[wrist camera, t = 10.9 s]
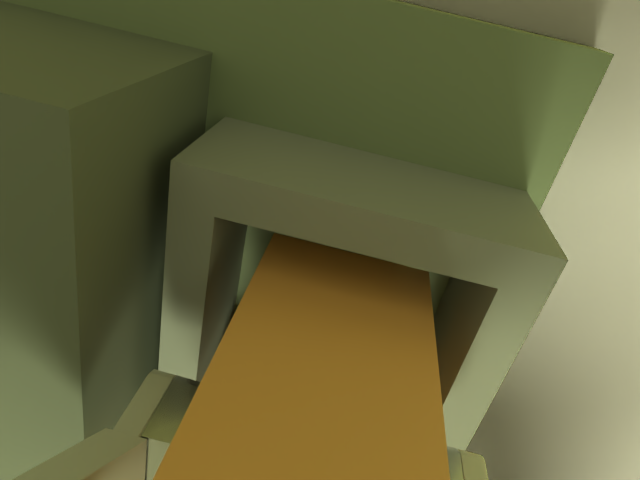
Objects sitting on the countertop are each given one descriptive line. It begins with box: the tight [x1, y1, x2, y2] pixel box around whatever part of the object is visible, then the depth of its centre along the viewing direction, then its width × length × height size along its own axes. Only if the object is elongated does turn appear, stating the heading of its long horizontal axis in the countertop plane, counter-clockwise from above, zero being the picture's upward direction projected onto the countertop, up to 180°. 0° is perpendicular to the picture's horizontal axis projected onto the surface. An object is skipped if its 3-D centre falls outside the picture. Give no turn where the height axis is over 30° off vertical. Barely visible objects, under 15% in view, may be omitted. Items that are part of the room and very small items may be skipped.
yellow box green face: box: [153, 233, 450, 480], centre depth 10 cm, size 4×5×9 cm
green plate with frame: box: [0, 0, 614, 480], centre depth 13 cm, size 18×16×7 cm
